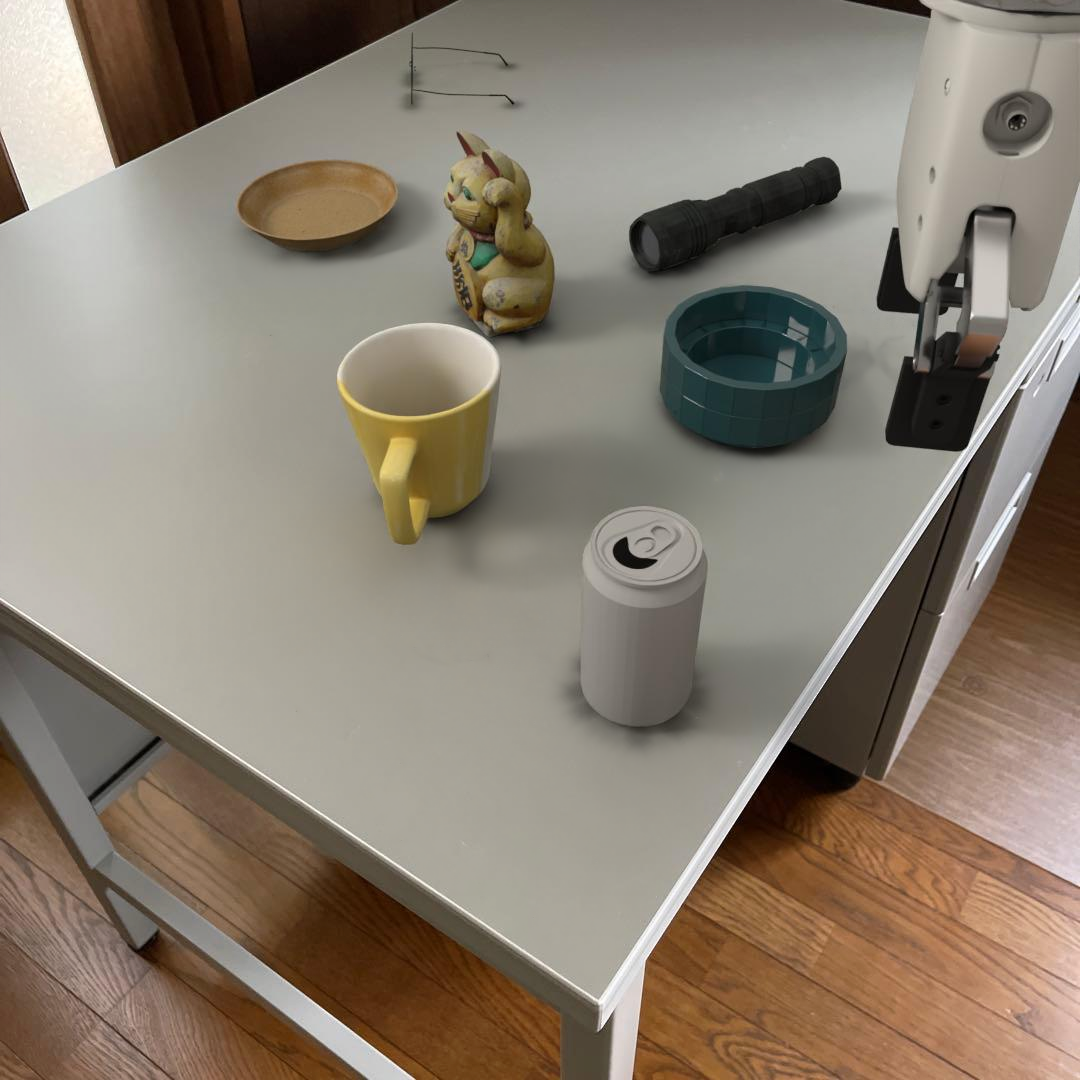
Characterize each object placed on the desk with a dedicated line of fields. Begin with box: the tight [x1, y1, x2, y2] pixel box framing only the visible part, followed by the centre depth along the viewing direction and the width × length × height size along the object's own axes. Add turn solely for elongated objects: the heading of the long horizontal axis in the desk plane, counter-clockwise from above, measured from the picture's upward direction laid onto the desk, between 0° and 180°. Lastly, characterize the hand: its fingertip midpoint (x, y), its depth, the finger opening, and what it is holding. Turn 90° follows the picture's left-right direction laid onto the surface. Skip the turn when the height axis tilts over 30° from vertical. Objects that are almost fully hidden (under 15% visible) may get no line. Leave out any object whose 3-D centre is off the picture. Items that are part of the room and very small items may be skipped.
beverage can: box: [579, 505, 709, 728], centre depth 60 cm, size 6×6×12 cm
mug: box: [336, 322, 502, 546], centre depth 71 cm, size 14×10×10 cm
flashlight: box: [628, 156, 843, 272], centre depth 98 cm, size 5×21×5 cm, turn 122°
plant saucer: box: [235, 159, 399, 252], centre depth 102 cm, size 15×15×3 cm
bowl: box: [659, 284, 848, 449], centre depth 81 cm, size 13×13×6 cm
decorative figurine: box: [443, 130, 556, 338], centre depth 86 cm, size 10×8×15 cm
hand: (916, 372), depth 48 cm, fingers open, 9 cm apart
